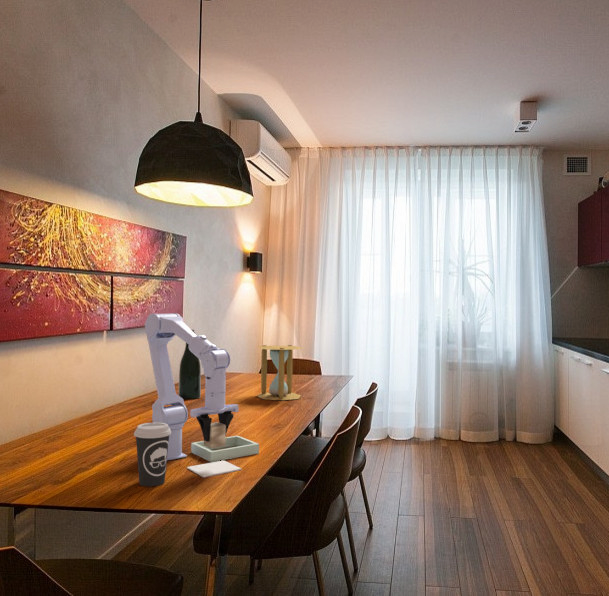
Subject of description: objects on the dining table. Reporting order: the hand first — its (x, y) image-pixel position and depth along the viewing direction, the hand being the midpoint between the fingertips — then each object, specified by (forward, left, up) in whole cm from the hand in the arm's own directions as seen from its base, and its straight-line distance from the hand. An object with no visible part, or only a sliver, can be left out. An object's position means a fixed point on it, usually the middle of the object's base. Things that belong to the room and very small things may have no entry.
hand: (214, 439), depth 163 cm
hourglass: (+83, +86, -9) cm, 120 cm away
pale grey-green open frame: (+11, +13, -8) cm, 19 cm away
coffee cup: (-19, -1, -9) cm, 21 cm away
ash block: (0, 0, -2) cm, 2 cm away
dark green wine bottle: (+45, +107, -9) cm, 116 cm away
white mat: (0, 0, -8) cm, 8 cm away
